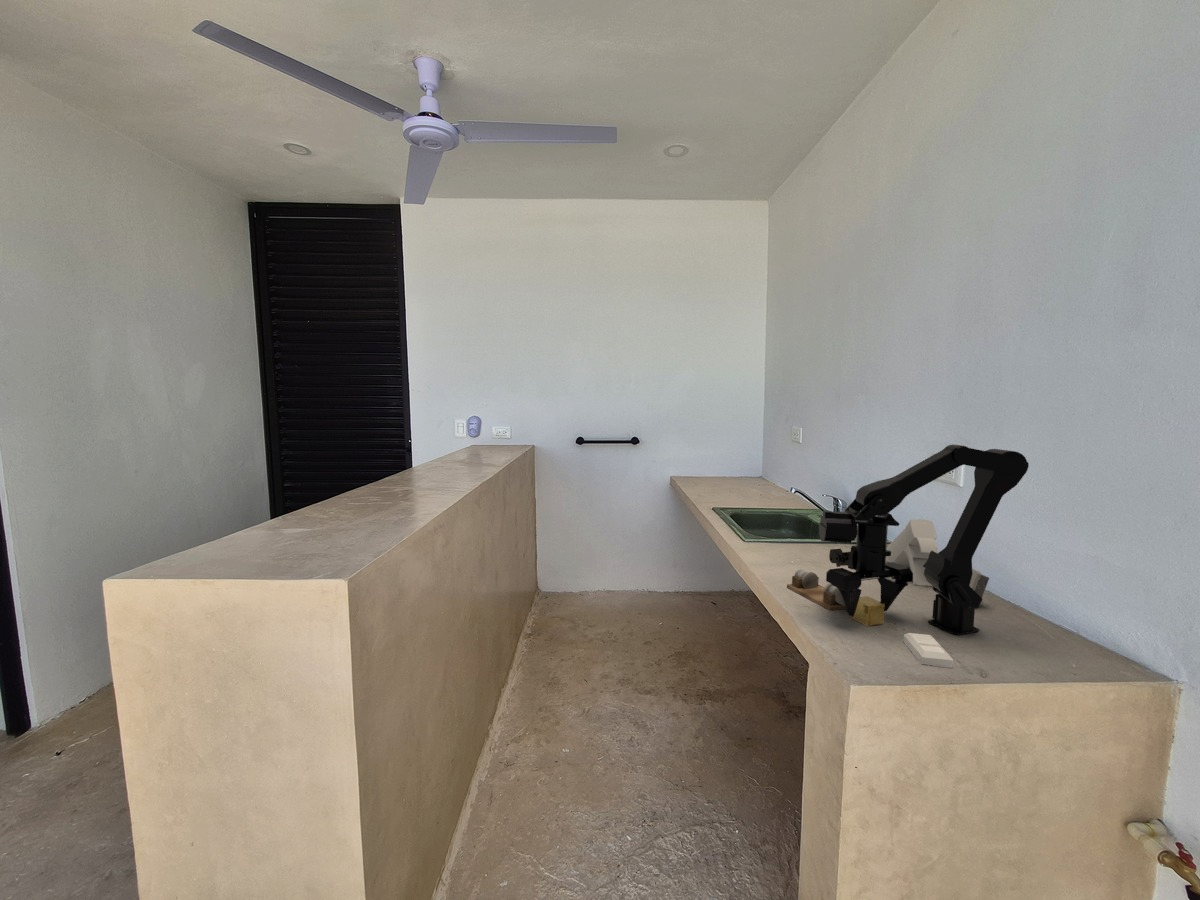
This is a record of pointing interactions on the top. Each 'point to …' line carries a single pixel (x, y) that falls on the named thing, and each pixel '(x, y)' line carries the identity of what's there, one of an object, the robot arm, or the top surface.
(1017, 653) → the top surface
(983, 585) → the electrical switch
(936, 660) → the soap bar
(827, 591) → the pipe cradle
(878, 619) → the yellow hollow block
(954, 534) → the robot arm
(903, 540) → the beige angular piece
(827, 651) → the top surface
